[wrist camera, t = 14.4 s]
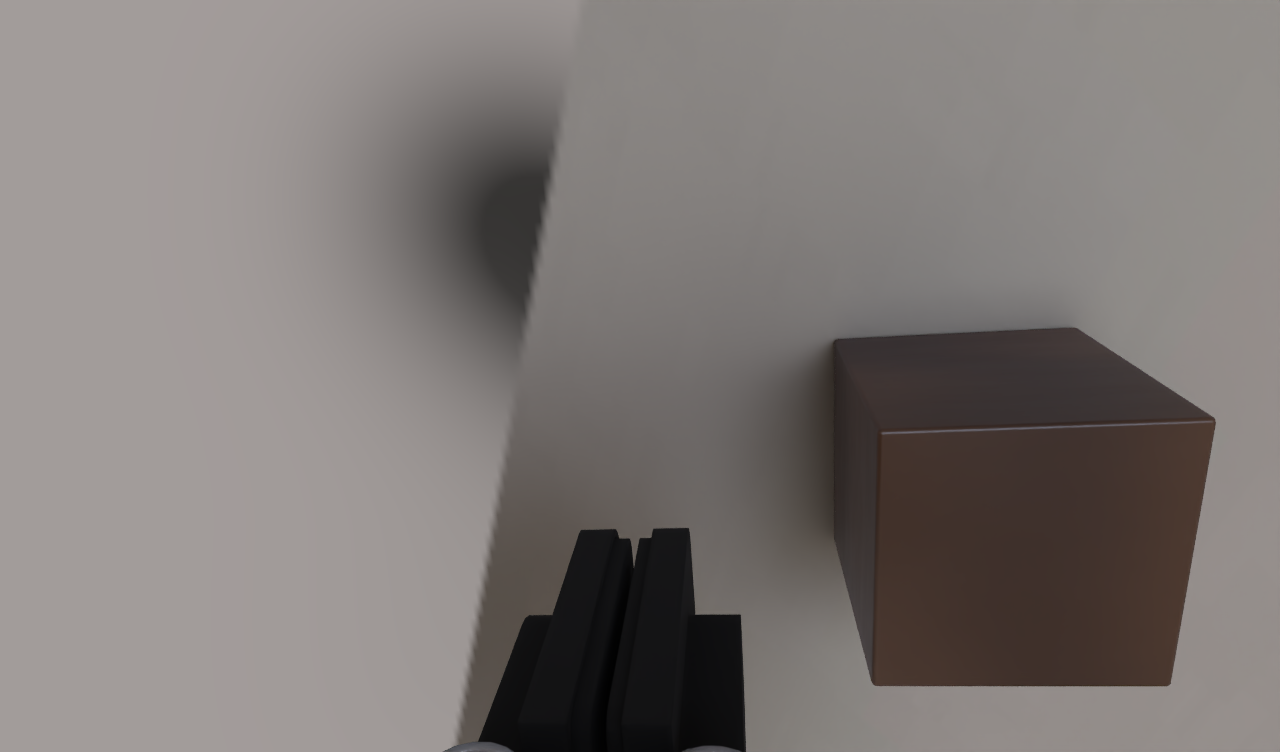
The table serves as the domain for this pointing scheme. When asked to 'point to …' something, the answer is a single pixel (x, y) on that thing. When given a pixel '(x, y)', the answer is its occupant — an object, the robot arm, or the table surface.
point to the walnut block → (1014, 509)
